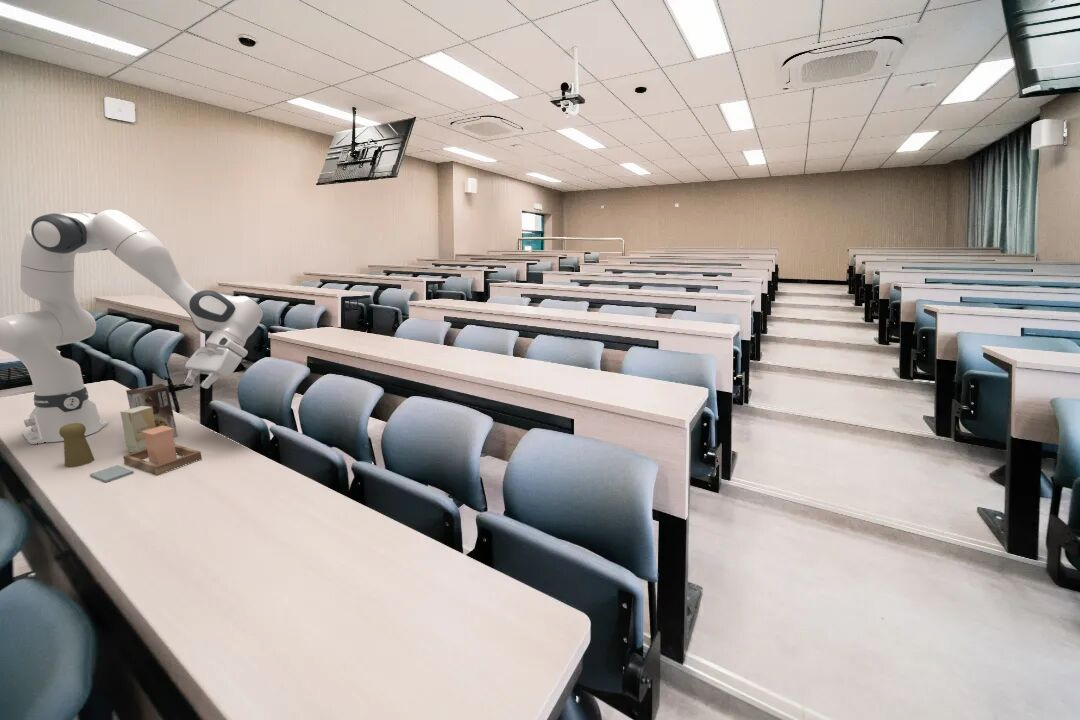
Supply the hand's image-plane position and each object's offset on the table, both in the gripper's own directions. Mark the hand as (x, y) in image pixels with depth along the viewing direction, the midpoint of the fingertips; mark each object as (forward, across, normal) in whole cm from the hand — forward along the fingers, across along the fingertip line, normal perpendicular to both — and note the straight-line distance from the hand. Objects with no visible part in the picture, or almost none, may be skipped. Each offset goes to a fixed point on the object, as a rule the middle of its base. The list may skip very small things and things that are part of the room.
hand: (195, 386), depth 142 cm
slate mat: (+28, -3, -3) cm, 29 cm away
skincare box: (+20, -16, +5) cm, 26 cm away
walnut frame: (+21, 0, +5) cm, 22 cm away
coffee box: (+16, -21, +9) cm, 28 cm away
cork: (+29, -20, -5) cm, 35 cm away
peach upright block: (+21, 0, +5) cm, 22 cm away
